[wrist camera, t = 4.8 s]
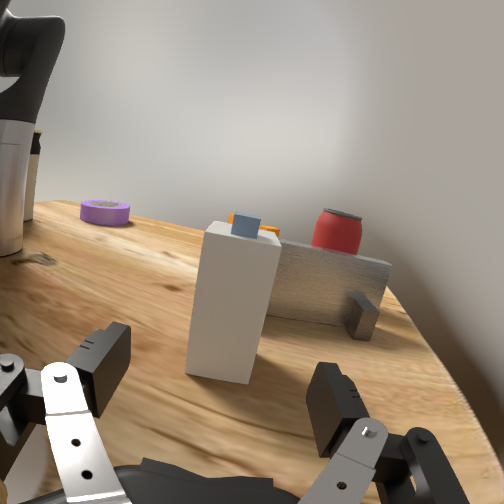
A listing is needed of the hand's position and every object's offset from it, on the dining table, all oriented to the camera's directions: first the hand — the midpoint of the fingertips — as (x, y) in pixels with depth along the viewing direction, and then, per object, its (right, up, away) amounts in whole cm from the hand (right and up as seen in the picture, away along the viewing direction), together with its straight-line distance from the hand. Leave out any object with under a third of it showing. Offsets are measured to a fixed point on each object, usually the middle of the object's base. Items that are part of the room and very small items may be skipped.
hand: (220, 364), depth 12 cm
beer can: (+11, -2, +30) cm, 32 cm away
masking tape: (-32, +12, +49) cm, 60 cm away
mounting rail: (+7, -3, +20) cm, 21 cm away
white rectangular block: (-1, -4, +10) cm, 11 cm away
